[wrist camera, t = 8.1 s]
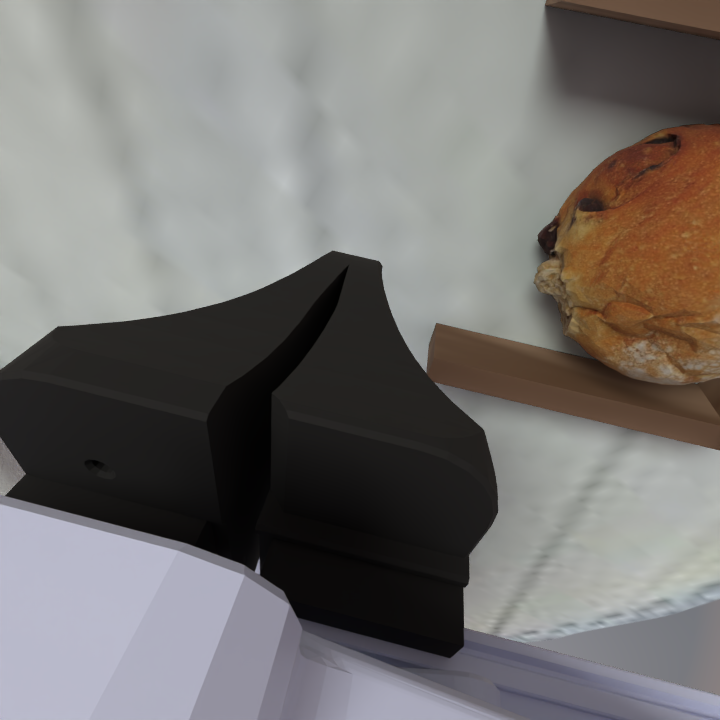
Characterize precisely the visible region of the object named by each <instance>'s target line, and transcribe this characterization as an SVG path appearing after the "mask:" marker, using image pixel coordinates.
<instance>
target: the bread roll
mask: <svg viewBox="0 0 720 720" xmlns="http://www.w3.org/2000/svg"><path fill="white" fill-rule="evenodd" d="M538 242H539V244H540V246H541V247H542V249H543V250H544V251H545V253H547V254H548V255H549V260H548V261H546V262H544V263H542V264H541V265H540V266H539V267H538V268H537V270H538V273H536V275H535V279H534V284H535V285H536V287H537V289H538V290H539V291H540V292H542V293H545V294H548V295H552V296H553V298H554V299H555V300H556V301H557V302H558V309H559V311H560V313H561V322H562V325H563V334H564V335H565V336H569V337H570V338H572V339H573V340H575V341H576V342H578V343H579V344H580V345H581V346H582V348H583V349H584V350H585V351H586V352H587V353H588V354H589V355H591V356H592V357H594V358H596V359H597V360H599V361H600V362H602V363H603V364H604V365H606V366H608V367H610V368H612V369H614V370H616V371H618V372H619V373H621V374H623V375H625V376H628V377H630V378H633V379H637V380H642V381H647V382H652V383H656V384H662V385H686V384H690V383H697V382H705V381H708V380H711V379H715V378H720V124H711V125H705V124H693V125H683V126H679V127H673V128H667V129H662V130H660V131H658V132H656V133H654V134H652V135H649V136H648V137H646V138H644V139H643V140H641V141H639V142H638V143H636V144H634V145H632V146H630V147H627V148H625V149H622V150H620V151H618V152H616V153H615V154H613V155H612V156H610V157H608V158H607V159H605V160H604V161H603V162H602V163H601V164H599V165H598V166H597V167H596V168H595V169H594V170H593V171H592V172H591V173H590V174H589V175H588V176H587V178H586V179H585V180H584V181H583V182H582V183H581V184H580V185H579V186H578V187H577V188H576V189H575V190H574V191H572V193H571V194H570V195H569V197H568V198H567V200H566V201H565V203H564V204H563V206H562V207H561V209H560V211H559V213H558V216H555V218H554V220H553V221H552V222H551V223H550V224H548V225H547V226H546V227H544V228H543V230H542V231H541V232H540V233H539V234H538ZM580 306H581V307H580ZM582 307H583V308H582Z"/></svg>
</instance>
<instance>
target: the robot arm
mask: <svg viewBox="0 0 720 720" xmlns="http://www.w3.org/2000/svg"><path fill="white" fill-rule="evenodd" d="M382 267H383V266H382V265H381V263H380V262H379V261H376V260H371V259H367V258H363V257H358V256H354V255H349V254H345V253H341V252H336V251H331V252H329V253H327V254H326V255H324V256H322V257H321V258H319V259H317V260H316V261H314V262H312V263H311V264H309V265H307V266H305V267H304V268H302V269H300V270H298V271H296V272H295V273H293V274H291V275H289V276H287V277H285V278H283V279H281V280H279V281H276V282H274V283H272V284H270V285H268V286H266V287H264V288H262V289H259V290H257V291H254V292H252V293H249V294H246V295H244V296H241V297H238V298H235V299H232V300H229V301H226V302H222V303H218V304H214V305H210V306H207V307H203V308H199V309H195V310H191V311H187V312H182V313H177V314H171V315H166V316H160V317H153V318H146V319H140V320H132V321H124V322H113V323H100V324H88V325H76V326H58V327H57V328H55V329H54V330H53V331H51V332H50V333H49V334H47V335H46V336H45V337H44V338H42V339H41V340H40V341H38V342H37V343H36V344H34V345H33V346H32V347H30V348H29V349H28V350H26V351H25V352H24V353H22V354H21V355H20V356H18V357H17V358H16V359H14V360H13V361H12V362H10V363H9V364H8V365H6V366H5V367H4V368H2V369H1V370H0V437H1V439H2V440H3V441H4V443H5V444H6V446H7V447H8V449H9V450H10V452H11V453H12V454H13V456H14V457H15V459H16V460H17V462H18V463H19V464H20V466H21V467H22V469H23V470H24V472H25V473H26V475H25V476H24V477H23V478H22V479H21V480H20V481H19V482H18V483H17V484H16V485H15V486H14V487H13V488H12V489H11V490H10V491H9V492H8V493H7V494H6V495H5V496H3V495H0V720H720V695H718V694H714V693H710V692H706V691H703V690H699V689H695V688H691V687H687V686H684V685H680V684H676V683H672V682H668V681H665V680H661V679H657V678H653V677H649V676H645V675H642V674H638V673H634V672H630V671H627V670H623V669H618V668H615V667H611V666H607V665H603V664H600V663H596V662H592V661H588V660H585V659H581V658H577V657H573V656H569V655H565V654H562V653H558V652H554V651H550V650H547V649H543V648H539V647H535V646H531V645H527V644H524V643H520V642H516V641H512V640H509V639H505V638H501V637H497V636H493V635H490V634H486V633H482V632H478V631H474V630H470V629H467V628H464V602H463V587H466V586H467V585H468V582H469V554H470V553H471V552H472V550H473V549H474V548H475V546H476V545H477V544H478V543H479V541H480V540H481V539H482V537H483V536H484V535H485V533H486V532H487V531H488V529H489V528H490V527H491V525H492V524H493V522H494V519H495V517H496V515H497V513H498V493H497V483H496V476H495V471H494V467H493V463H492V459H491V454H490V451H489V447H488V443H487V439H486V436H485V432H484V430H483V429H482V428H481V427H480V426H479V425H478V424H477V423H476V422H474V421H473V420H472V419H471V418H470V417H469V416H468V415H467V414H465V413H464V412H463V411H462V410H461V409H460V408H459V407H458V406H456V405H455V404H454V403H453V402H452V401H451V400H450V399H449V398H448V397H447V396H446V395H445V394H444V393H443V392H442V391H441V390H440V389H439V388H438V386H437V385H436V384H435V383H434V382H433V381H432V380H431V379H430V378H429V376H428V375H427V374H426V372H425V371H424V370H423V369H422V367H421V366H420V365H419V363H418V362H417V361H416V359H415V358H414V356H413V355H412V353H411V351H410V350H409V348H408V347H407V345H406V343H405V341H404V339H403V338H402V336H401V334H400V332H399V330H398V327H397V325H396V323H395V321H394V318H393V316H392V313H391V310H390V308H389V305H388V301H387V298H386V294H385V291H384V286H383V280H382Z"/></svg>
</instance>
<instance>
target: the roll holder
mask: <svg viewBox="0 0 720 720" xmlns="http://www.w3.org/2000/svg"><path fill="white" fill-rule="evenodd" d="M545 5H546V6H551V7H556V8H561V9H566V10H571V11H576V12H581V13H586V14H591V15H596V16H601V17H606V18H611V19H616V20H621V21H627V22H632V23H637V24H642V25H647V26H652V27H657V28H662V29H667V30H672V31H677V32H682V33H687V34H692V35H697V36H702V37H707V38H712V39H717V40H720V0H546V3H545ZM426 374H427V375H428V376H429V378H430V379H431V380H432V381H433V382H436V383H440V384H444V385H449V386H453V387H457V388H461V389H465V390H470V391H474V392H478V393H482V394H486V395H490V396H495V397H499V398H503V399H507V400H511V401H516V402H520V403H524V404H528V405H532V406H536V407H541V408H545V409H549V410H553V411H557V412H562V413H566V414H570V415H574V416H578V417H582V418H587V419H591V420H595V421H599V422H603V423H608V424H612V425H616V426H620V427H624V428H628V429H633V430H637V431H641V432H645V433H649V434H654V435H658V436H662V437H666V438H670V439H674V440H679V441H683V442H687V443H691V444H695V445H700V446H704V447H708V448H712V449H716V450H720V378H715V379H711V380H708V381H705V382H699V383H698V384H695V383H690V384H686V385H662V384H656V383H652V382H647V381H642V380H637V379H633V378H630V377H628V376H625V375H623V374H621V373H619V372H618V371H616V370H614V369H612V368H610V367H608V366H606V365H604V364H603V363H602V362H600V361H596V360H592V359H588V358H583V357H579V356H575V355H571V354H566V353H562V352H558V351H553V350H549V349H545V348H540V347H536V346H532V345H528V344H523V343H519V342H515V341H510V340H506V339H502V338H498V337H493V336H489V335H485V334H480V333H476V332H472V331H468V330H463V329H459V328H455V327H450V326H446V325H442V324H438V323H436V326H435V328H434V331H433V334H432V337H431V340H430V343H429V350H428V362H427V373H426Z"/></svg>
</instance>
